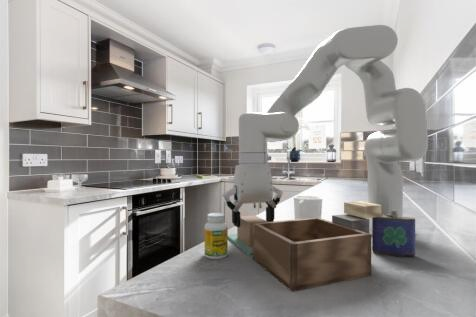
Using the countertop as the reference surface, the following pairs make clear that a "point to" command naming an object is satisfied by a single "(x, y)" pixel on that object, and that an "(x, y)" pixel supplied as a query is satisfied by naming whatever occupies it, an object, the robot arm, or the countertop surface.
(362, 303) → the countertop surface
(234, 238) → the lid
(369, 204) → the pale gold block
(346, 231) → the wooden box
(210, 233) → the supplement bottle
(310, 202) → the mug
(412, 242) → the flask
